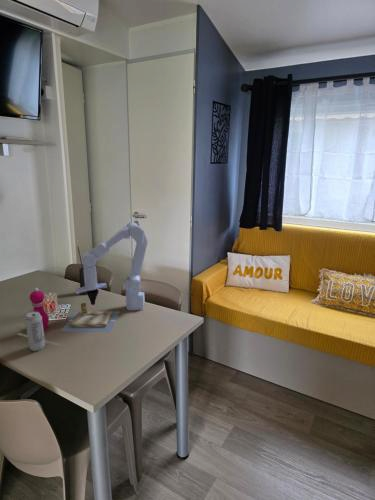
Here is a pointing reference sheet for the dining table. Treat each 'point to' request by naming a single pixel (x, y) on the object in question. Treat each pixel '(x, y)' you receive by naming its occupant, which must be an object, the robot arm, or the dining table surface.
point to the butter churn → (81, 275)
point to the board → (92, 329)
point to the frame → (90, 318)
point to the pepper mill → (39, 306)
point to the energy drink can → (35, 331)
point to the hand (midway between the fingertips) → (92, 304)
